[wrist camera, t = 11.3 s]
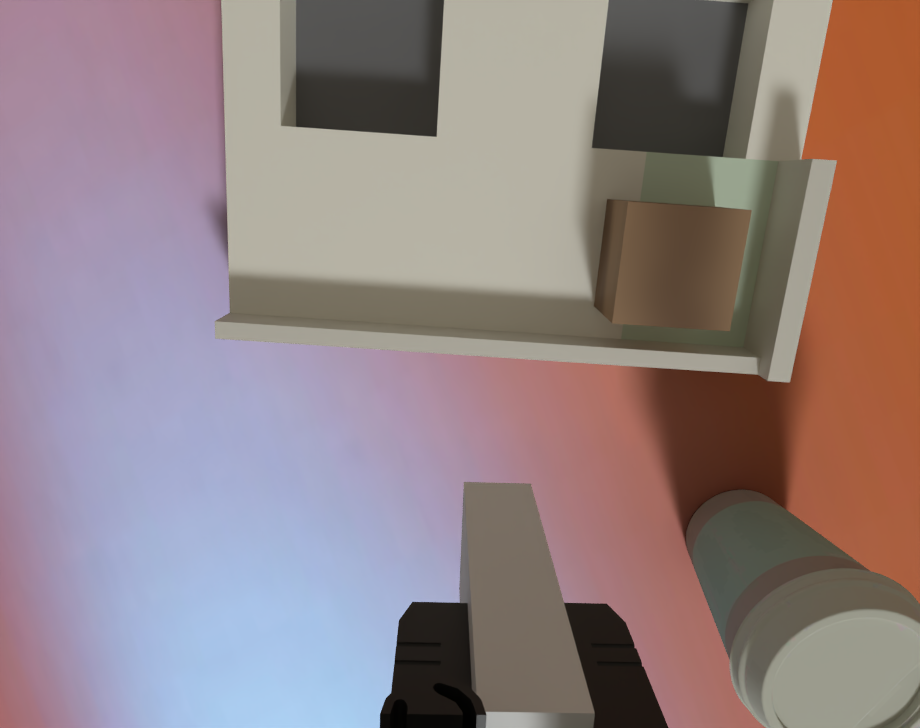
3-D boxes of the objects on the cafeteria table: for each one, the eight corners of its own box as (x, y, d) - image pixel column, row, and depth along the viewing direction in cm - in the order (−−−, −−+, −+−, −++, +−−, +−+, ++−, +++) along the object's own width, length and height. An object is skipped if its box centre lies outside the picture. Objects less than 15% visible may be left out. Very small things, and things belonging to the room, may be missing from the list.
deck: (249, 316, 35) (207, 343, 29) (242, -70, 30) (188, -130, 24) (736, 349, 35) (789, 382, 29) (806, -28, 30) (887, -78, 24)
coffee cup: (689, 617, 40) (783, 797, 28) (640, 500, 38) (720, 643, 26) (827, 566, 39) (983, 731, 27) (785, 443, 37) (934, 564, 25)
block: (593, 305, 31) (612, 323, 28) (607, 198, 30) (628, 201, 26) (697, 313, 31) (729, 331, 28) (715, 206, 30) (752, 210, 26)
